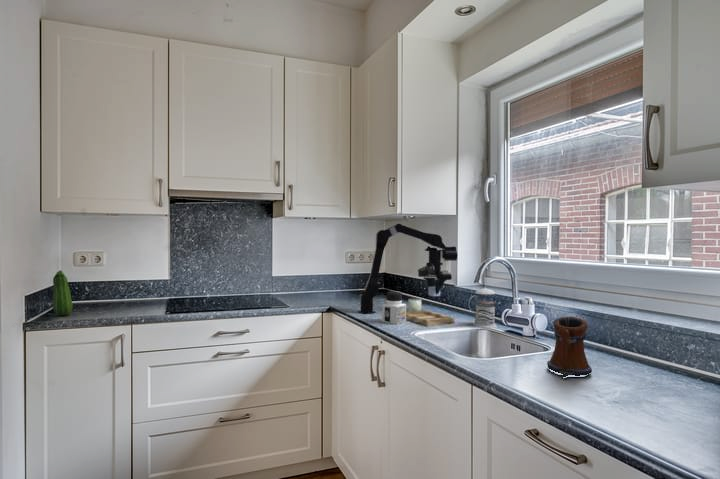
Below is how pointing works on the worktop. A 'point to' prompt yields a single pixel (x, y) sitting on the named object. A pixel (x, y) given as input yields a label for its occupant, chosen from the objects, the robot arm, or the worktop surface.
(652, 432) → the worktop surface
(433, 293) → the block
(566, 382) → the worktop surface
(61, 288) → the vegetable
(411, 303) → the cup
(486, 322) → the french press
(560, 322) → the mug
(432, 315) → the tray
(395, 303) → the container
